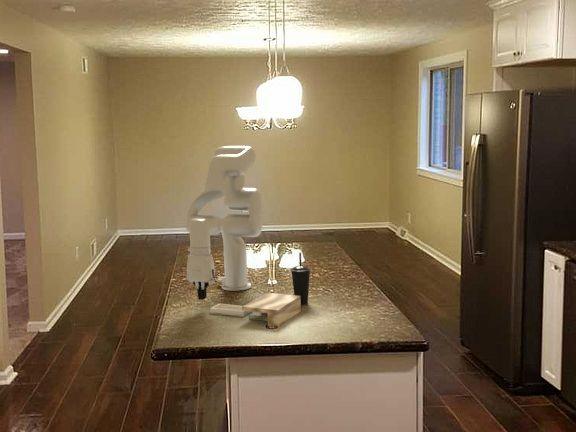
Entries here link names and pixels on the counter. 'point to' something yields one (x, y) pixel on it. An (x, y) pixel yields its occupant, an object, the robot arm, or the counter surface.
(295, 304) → the shelf
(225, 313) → the white rectangular tray
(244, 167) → the robot arm
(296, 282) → the drinking cup
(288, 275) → the counter surface
